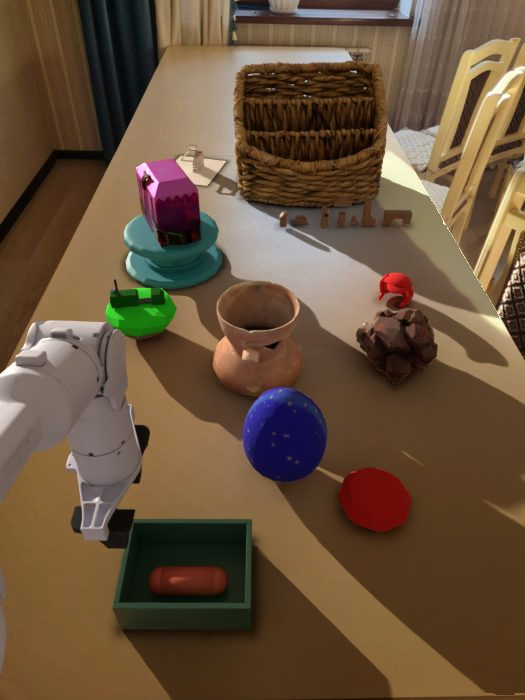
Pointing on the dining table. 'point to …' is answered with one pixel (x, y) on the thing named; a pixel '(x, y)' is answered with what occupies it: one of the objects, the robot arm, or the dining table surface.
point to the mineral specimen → (398, 342)
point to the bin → (185, 551)
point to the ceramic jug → (257, 338)
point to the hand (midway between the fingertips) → (124, 511)
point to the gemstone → (375, 499)
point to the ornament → (284, 435)
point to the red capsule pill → (188, 580)
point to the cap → (397, 286)
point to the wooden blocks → (366, 216)
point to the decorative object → (170, 230)
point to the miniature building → (140, 311)
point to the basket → (309, 132)
